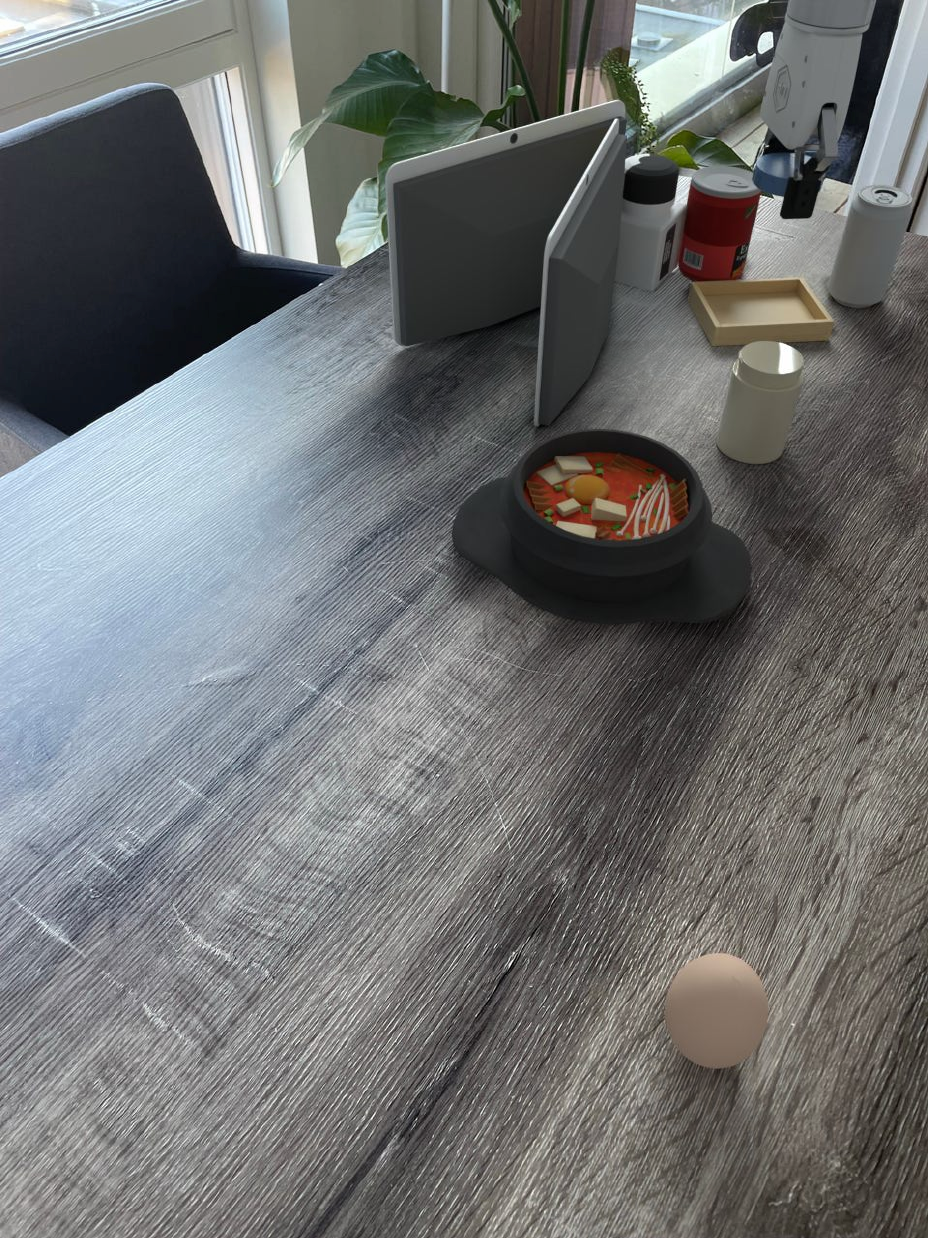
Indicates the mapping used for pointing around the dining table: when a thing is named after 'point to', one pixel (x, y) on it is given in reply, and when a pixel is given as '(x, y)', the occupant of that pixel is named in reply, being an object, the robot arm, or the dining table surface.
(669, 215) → the container
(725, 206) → the canned food
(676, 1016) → the egg
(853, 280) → the beverage can
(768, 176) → the lid
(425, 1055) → the dining table surface
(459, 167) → the grey hinged panel
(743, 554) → the casserole
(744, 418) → the jar
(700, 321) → the tray
